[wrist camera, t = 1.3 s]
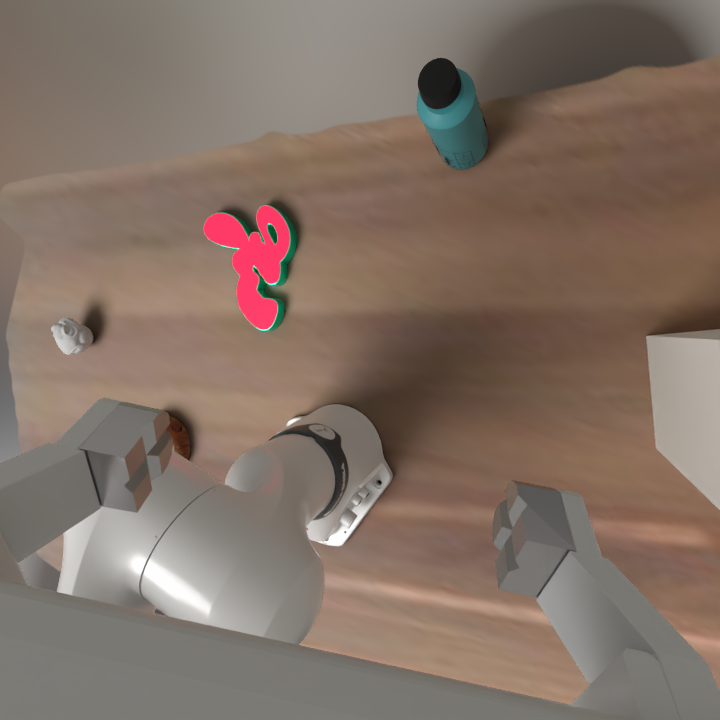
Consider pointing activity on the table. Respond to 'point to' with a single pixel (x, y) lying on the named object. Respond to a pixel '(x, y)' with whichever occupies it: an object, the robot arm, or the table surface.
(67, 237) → the table surface
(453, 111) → the beverage bottle
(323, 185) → the table surface
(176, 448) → the bread roll
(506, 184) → the table surface
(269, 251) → the pink curvy flat shape
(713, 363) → the off-white stand
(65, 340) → the frog figurine
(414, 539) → the table surface
